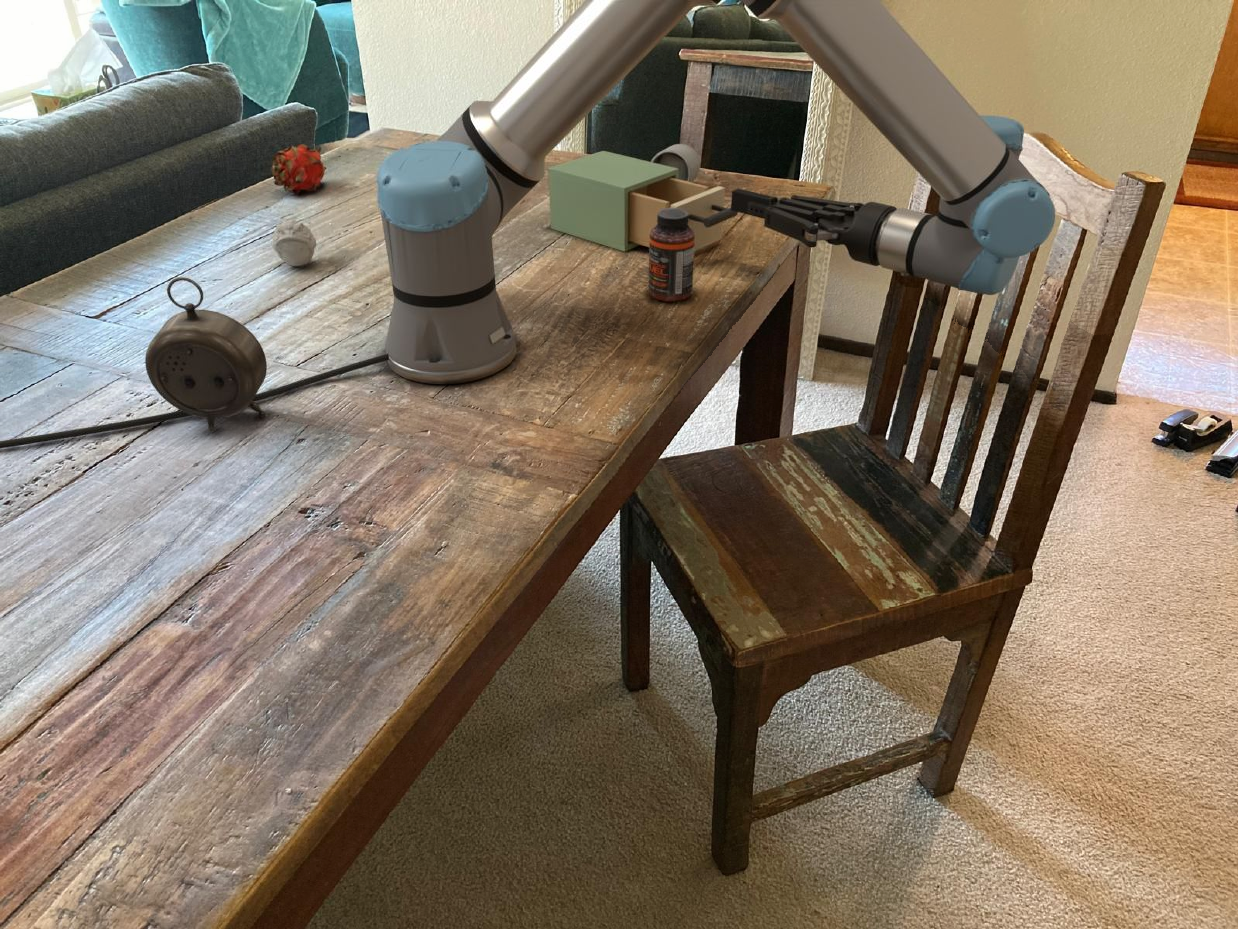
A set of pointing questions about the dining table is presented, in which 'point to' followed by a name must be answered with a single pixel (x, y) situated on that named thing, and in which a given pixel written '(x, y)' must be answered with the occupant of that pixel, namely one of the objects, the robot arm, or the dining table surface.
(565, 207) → the cabinet
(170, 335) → the alarm clock
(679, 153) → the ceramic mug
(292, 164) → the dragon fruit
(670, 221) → the supplement bottle
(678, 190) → the drawer
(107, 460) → the dining table surface
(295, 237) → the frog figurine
